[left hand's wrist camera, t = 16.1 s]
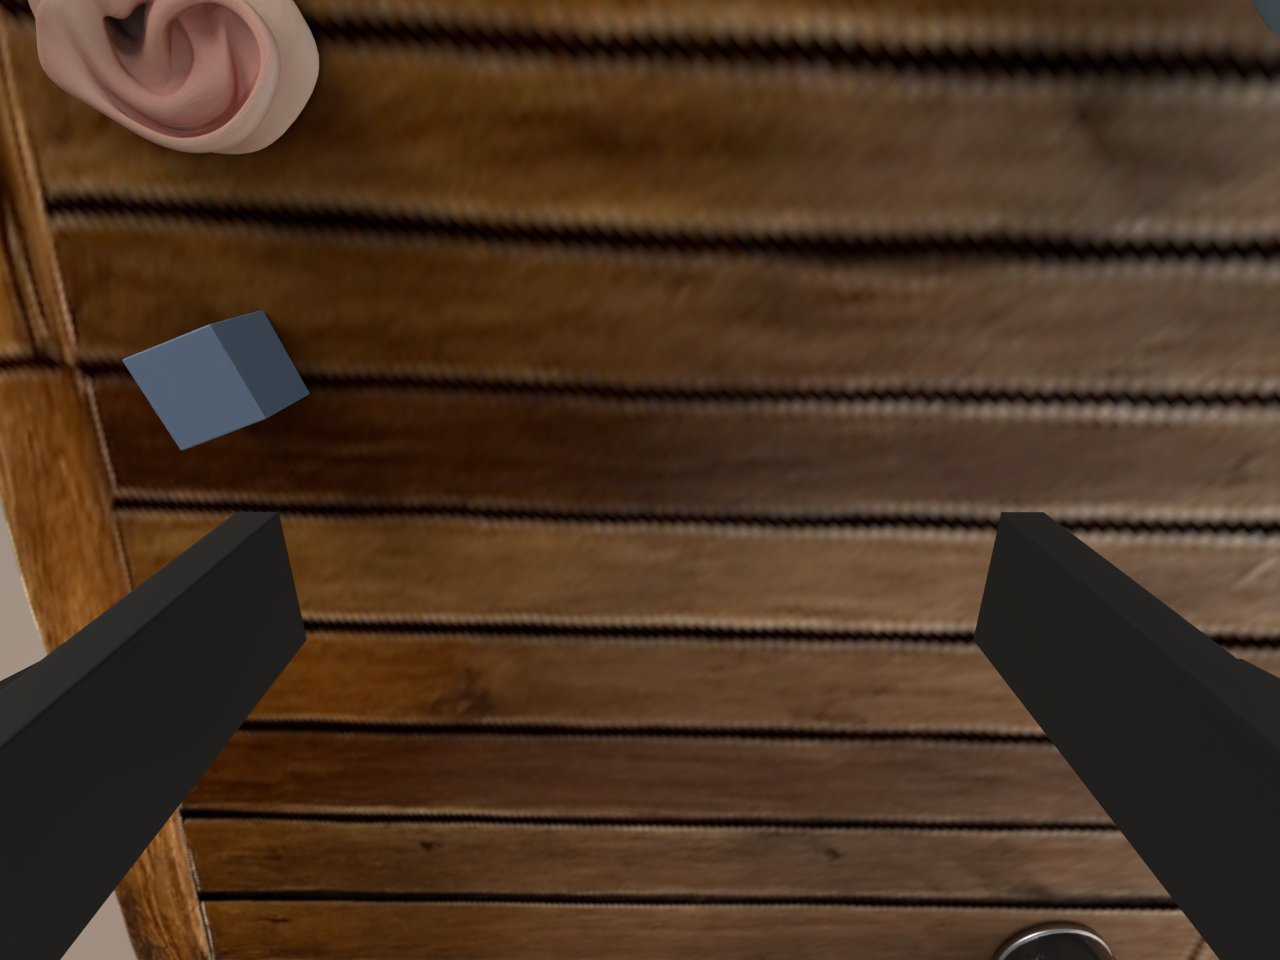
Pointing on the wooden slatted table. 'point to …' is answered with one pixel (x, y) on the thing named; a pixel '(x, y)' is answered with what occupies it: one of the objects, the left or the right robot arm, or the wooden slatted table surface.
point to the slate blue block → (217, 378)
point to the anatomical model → (183, 67)
